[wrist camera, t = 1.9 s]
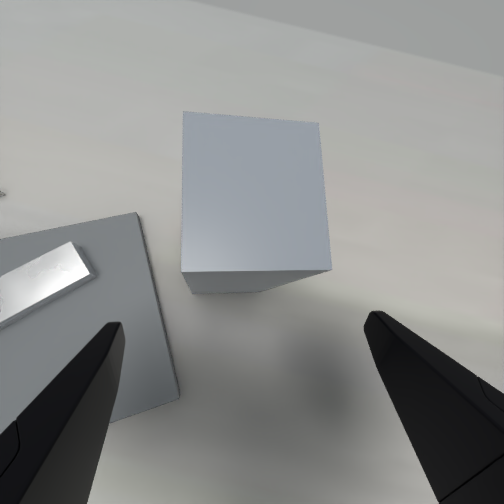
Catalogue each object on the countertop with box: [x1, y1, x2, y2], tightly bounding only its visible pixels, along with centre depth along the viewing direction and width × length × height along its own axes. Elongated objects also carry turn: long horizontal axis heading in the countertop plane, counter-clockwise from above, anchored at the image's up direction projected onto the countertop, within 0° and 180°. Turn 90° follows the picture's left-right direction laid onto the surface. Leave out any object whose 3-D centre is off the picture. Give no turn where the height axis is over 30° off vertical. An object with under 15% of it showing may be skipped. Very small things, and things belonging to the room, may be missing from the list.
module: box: [181, 111, 332, 294], centre depth 16 cm, size 6×5×12 cm
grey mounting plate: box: [0, 212, 180, 434], centre depth 17 cm, size 13×18×2 cm
